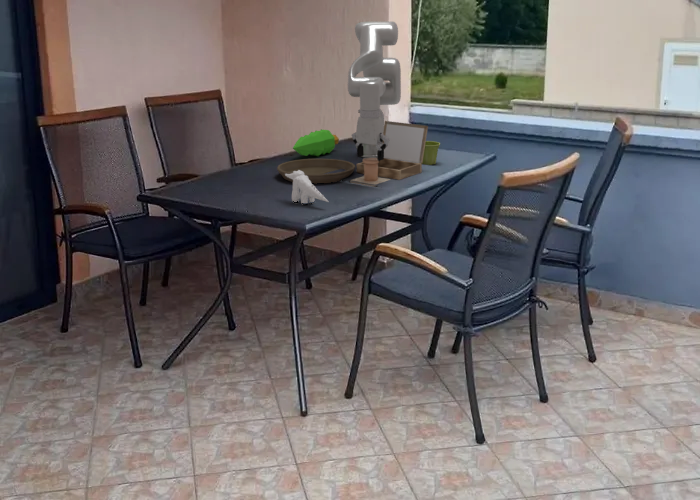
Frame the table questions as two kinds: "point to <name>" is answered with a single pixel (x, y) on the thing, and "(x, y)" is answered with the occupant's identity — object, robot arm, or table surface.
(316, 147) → the decorative tree
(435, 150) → the plant pot
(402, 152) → the lid
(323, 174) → the plant saucer
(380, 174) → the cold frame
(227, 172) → the table surface
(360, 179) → the sandstone tile
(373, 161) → the tan rounded knob
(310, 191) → the dinosaur statue
